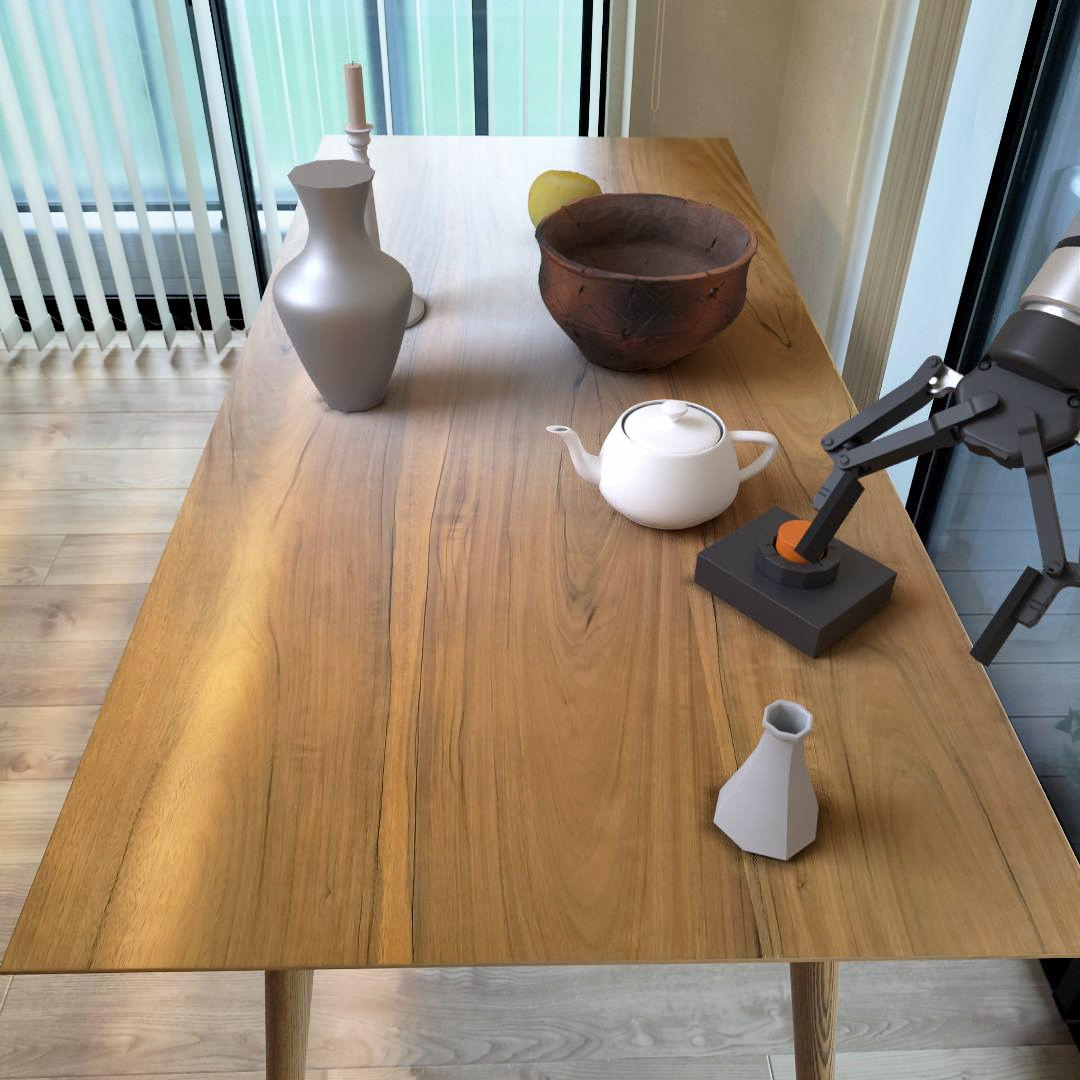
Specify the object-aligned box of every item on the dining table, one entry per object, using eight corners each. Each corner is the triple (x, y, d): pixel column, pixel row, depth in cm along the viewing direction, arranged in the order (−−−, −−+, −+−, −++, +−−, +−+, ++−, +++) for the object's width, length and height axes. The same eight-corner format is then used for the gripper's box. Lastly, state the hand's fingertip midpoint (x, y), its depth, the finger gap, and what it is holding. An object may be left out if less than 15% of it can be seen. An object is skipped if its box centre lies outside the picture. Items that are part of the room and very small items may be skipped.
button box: (890, 601, 94) (902, 555, 91) (813, 658, 88) (824, 612, 85) (771, 532, 101) (779, 488, 98) (693, 581, 95) (699, 536, 92)
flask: (695, 827, 74) (711, 727, 68) (742, 761, 79) (761, 662, 73) (792, 879, 71) (818, 779, 65) (835, 807, 76) (863, 708, 70)
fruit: (608, 250, 154) (612, 180, 148) (534, 255, 152) (535, 184, 146) (592, 223, 162) (595, 156, 156) (522, 227, 160) (522, 160, 154)
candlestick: (335, 287, 142) (309, 44, 124) (431, 292, 142) (419, 48, 123) (311, 331, 132) (278, 73, 114) (414, 337, 132) (398, 78, 113)
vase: (403, 436, 114) (386, 203, 98) (270, 425, 115) (234, 193, 100) (431, 370, 125) (419, 152, 110) (309, 361, 126) (282, 144, 111)
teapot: (753, 460, 111) (768, 367, 104) (784, 542, 100) (803, 443, 94) (540, 464, 110) (542, 370, 103) (548, 546, 99) (551, 447, 92)
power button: (832, 551, 92) (836, 535, 91) (804, 571, 90) (807, 554, 88) (794, 530, 94) (798, 514, 93) (766, 548, 92) (768, 532, 91)
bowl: (713, 421, 117) (731, 291, 108) (502, 379, 124) (502, 253, 114) (758, 325, 136) (777, 207, 127) (573, 293, 142) (577, 179, 133)
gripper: (1265, 433, 67) (1071, 719, 68) (915, 298, 81) (759, 535, 82) (1269, 385, 61) (1055, 700, 62) (889, 249, 75) (722, 505, 76)
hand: (886, 607), depth 72 cm, fingers open, 13 cm apart
